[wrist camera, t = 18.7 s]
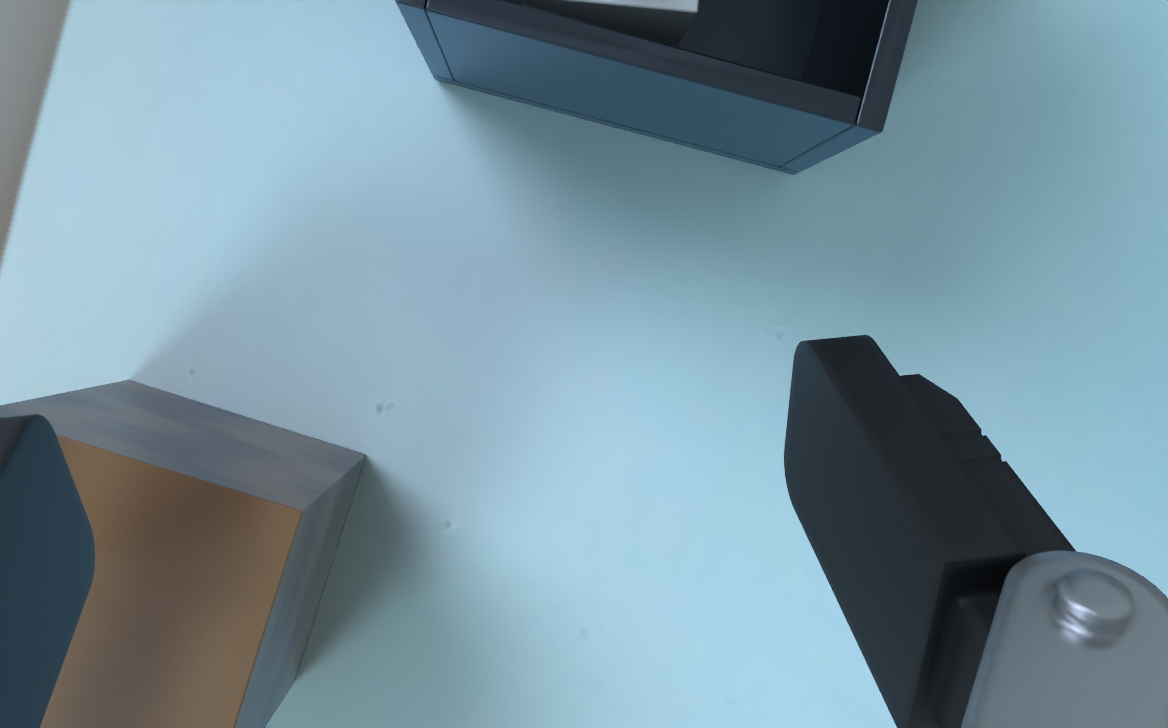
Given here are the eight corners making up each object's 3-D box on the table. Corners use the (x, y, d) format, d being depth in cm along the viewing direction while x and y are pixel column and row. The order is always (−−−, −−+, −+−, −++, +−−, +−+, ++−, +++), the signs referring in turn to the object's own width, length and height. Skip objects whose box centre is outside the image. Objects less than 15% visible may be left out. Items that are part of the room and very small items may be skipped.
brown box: (57, 611, 38) (-119, 725, 28) (128, 379, 37) (-25, 409, 27) (294, 682, 38) (205, 819, 28) (366, 454, 38) (302, 510, 28)
